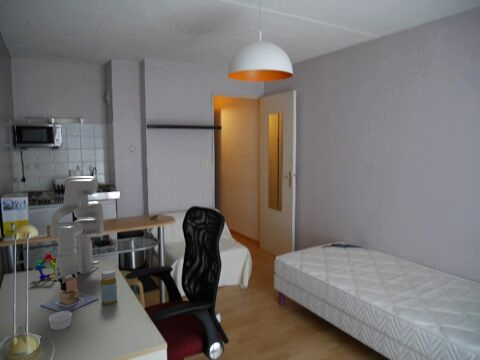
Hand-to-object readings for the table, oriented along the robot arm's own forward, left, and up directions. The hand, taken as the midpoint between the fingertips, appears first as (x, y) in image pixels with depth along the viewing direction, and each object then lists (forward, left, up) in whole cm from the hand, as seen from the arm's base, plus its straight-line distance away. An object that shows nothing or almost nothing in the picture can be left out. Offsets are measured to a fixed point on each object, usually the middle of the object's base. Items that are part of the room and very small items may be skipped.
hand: (69, 288), depth 172 cm
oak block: (0, 0, -7) cm, 7 cm away
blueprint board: (0, 0, -7) cm, 7 cm away
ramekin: (+16, +17, -8) cm, 25 cm away
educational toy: (-14, -39, -8) cm, 42 cm away
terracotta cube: (0, 0, -1) cm, 1 cm away
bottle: (-10, +16, -7) cm, 20 cm away
